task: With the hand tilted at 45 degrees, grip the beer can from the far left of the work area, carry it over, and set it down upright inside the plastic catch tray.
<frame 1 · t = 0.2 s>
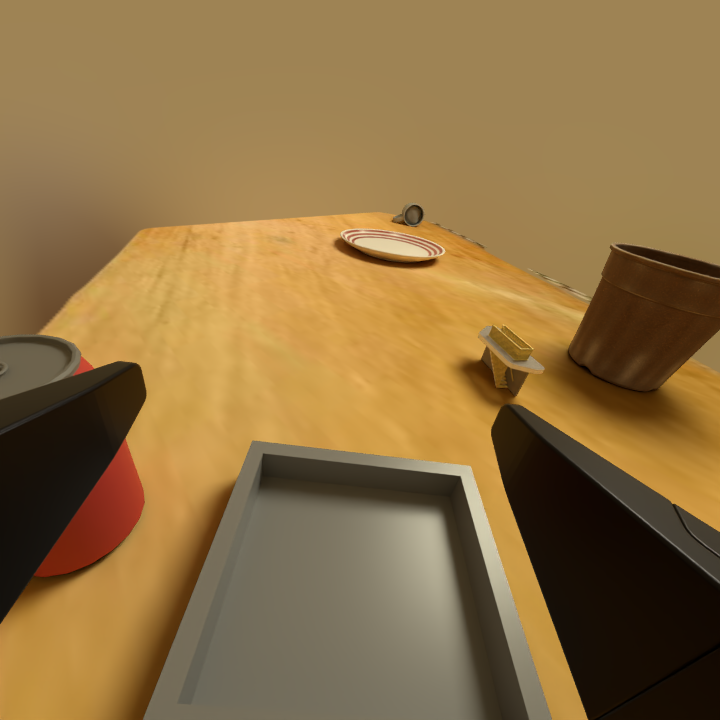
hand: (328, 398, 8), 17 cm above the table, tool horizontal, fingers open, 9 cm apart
beer can: (85, 524, 20), on the table
plant pot: (611, 368, 49), on the table
dinner plate: (390, 253, 86), on the table
catch tray: (353, 583, 20), on the table
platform: (490, 380, 42), on the table
ceramic mug: (406, 224, 124), on the table
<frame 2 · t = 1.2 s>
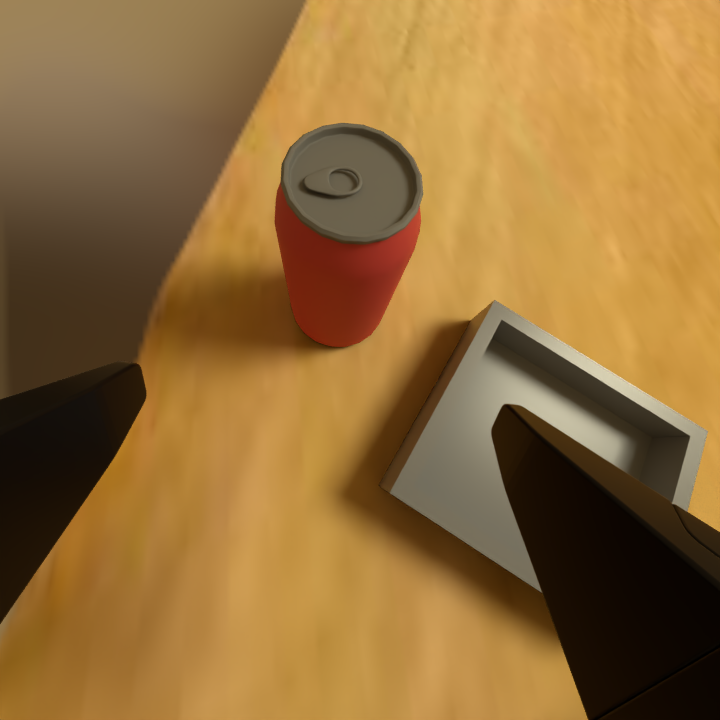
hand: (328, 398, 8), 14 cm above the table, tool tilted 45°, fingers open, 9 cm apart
beer can: (337, 308, 24), on the table
catch tray: (526, 457, 23), on the table
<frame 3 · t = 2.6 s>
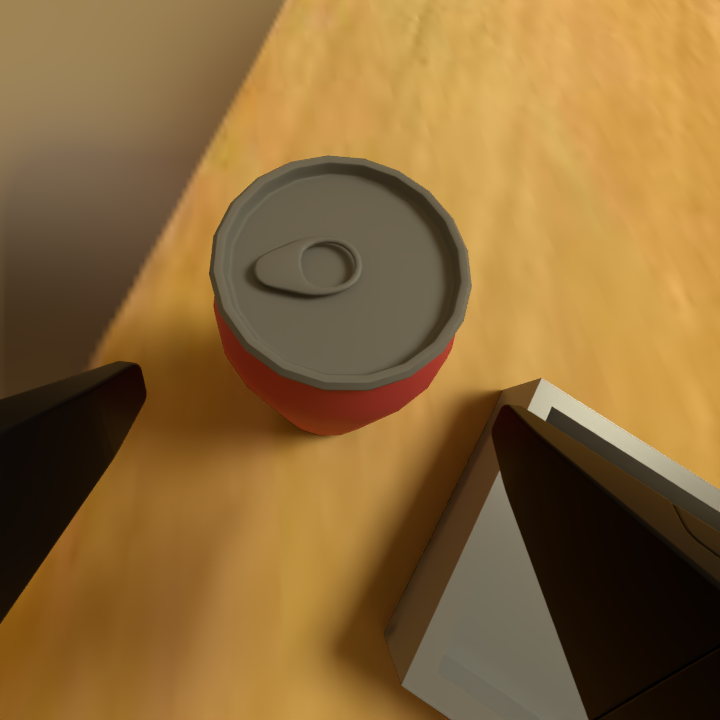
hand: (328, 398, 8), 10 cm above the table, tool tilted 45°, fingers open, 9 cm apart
beer can: (329, 377, 19), on the table
catch tray: (579, 582, 17), on the table
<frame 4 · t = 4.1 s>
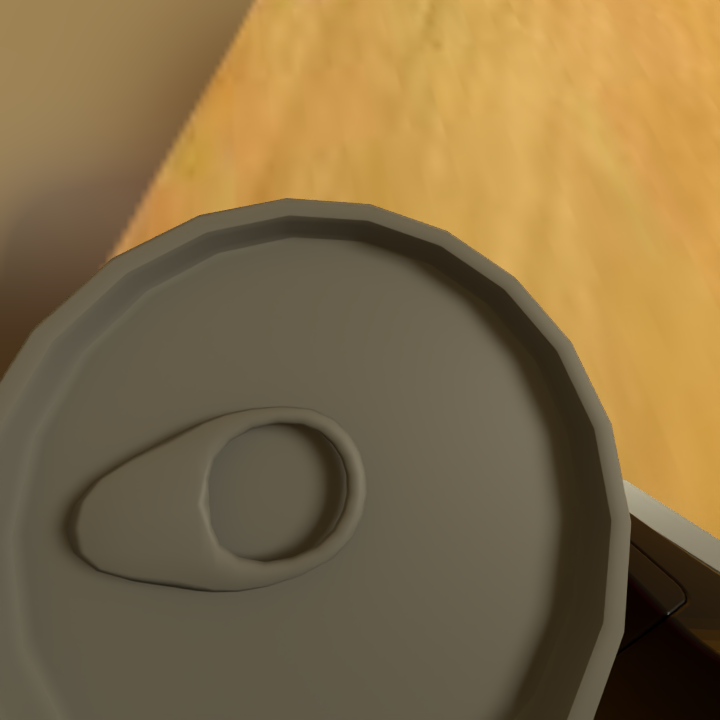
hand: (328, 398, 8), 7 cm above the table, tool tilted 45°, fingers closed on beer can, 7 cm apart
beer can: (321, 450, 14), on the table, touching gripper
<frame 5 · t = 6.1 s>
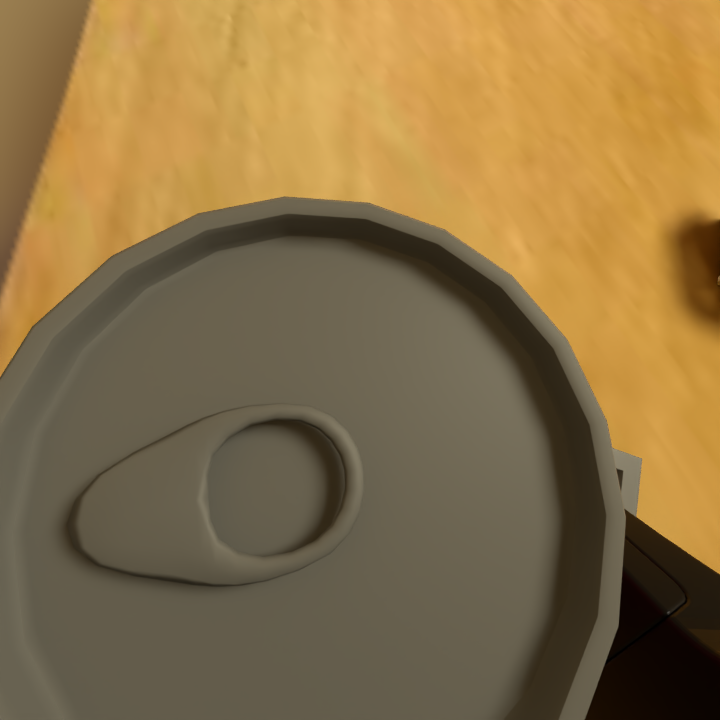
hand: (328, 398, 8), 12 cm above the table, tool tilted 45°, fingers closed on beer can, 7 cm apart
beer can: (320, 448, 14), point 5 cm above the table, touching gripper
catch tray: (452, 527, 19), on the table
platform: (711, 263, 27), on the table
when the fingers open (9 cm above the table, at t = 8.1 s): beer can drops 1 cm, resting on catch tray.
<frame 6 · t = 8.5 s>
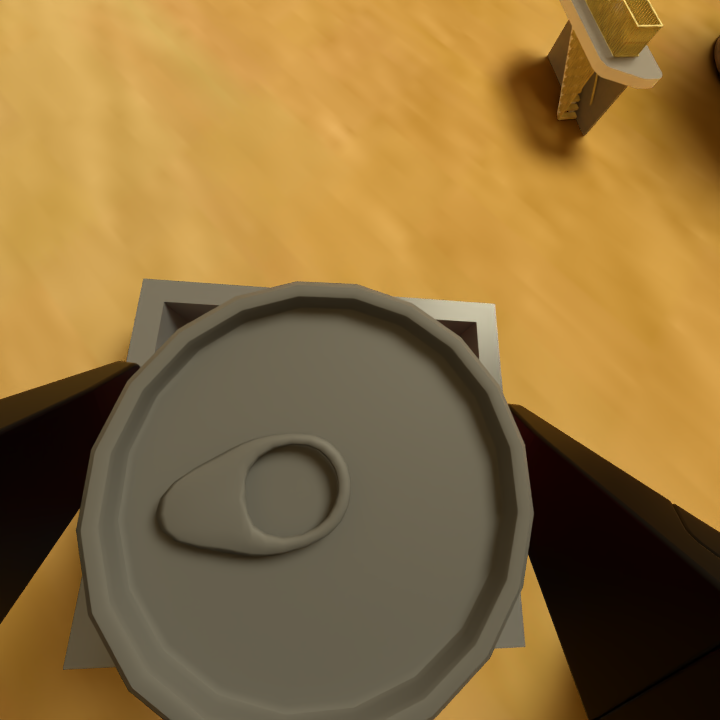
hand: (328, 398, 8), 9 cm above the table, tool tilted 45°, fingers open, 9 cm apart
beer can: (321, 453, 16), point 1 cm above the table, touching catch tray
catch tray: (321, 448, 17), on the table
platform: (550, 102, 26), on the table
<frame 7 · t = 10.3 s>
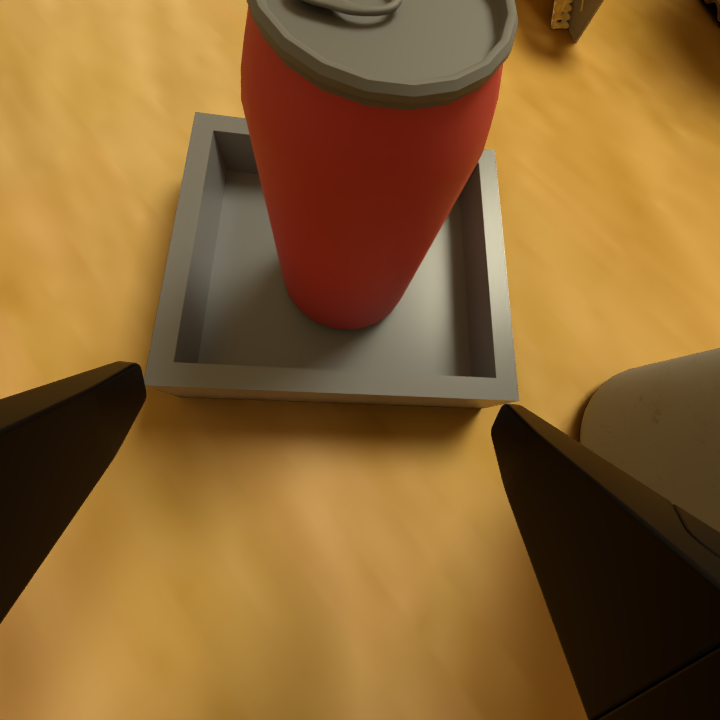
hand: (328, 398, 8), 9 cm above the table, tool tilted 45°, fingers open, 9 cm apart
beer can: (344, 279, 18), point 1 cm above the table, touching catch tray
water bottle: (646, 449, 19), on the table
catch tray: (343, 282, 19), on the table
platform: (545, 17, 28), on the table
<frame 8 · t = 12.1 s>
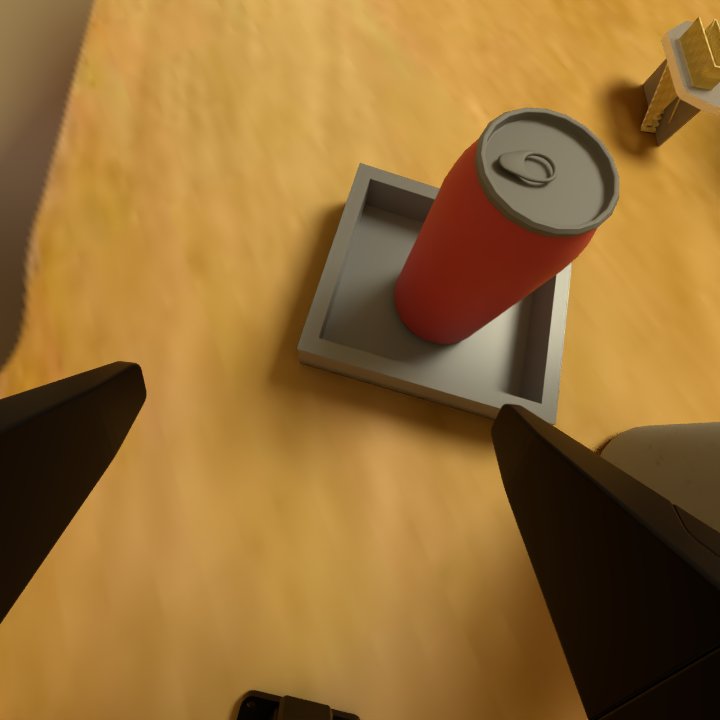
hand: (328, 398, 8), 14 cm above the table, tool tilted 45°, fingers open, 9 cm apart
beer can: (436, 304, 23), point 1 cm above the table, touching catch tray
water bottle: (648, 494, 23), on the table
catch tray: (432, 306, 24), on the table
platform: (637, 119, 33), on the table
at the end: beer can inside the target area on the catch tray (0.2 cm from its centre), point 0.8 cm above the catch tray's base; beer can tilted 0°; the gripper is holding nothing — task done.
